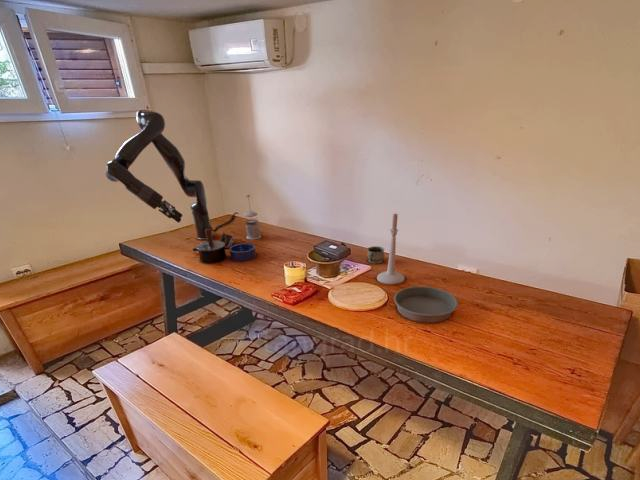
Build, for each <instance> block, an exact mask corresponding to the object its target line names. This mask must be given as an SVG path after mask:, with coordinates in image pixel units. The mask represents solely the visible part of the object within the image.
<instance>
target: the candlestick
mask: <svg viewBox="0 0 640 480" xmlns="http://www.w3.org/2000/svg"><path fill="white" fill-rule="evenodd" d="M398 214H399V213H393V214H392V224H391V225H392V226H391V229H389V231H390V235H391V237H390V246H389V255H388V262H387V268H386V269H387V270H386V271H382V272H380V273H379V274H377V276H376V280H377V281H378V282H379V283H381V284H384V285H399V284H402V283H404V282H405V276H404V275H403V274H402V273H401V272H398V271H396V245H397V244H396V243H397V242H396V241H397V238H396V237H397V234H398V231H399V229H397V227H398Z"/></svg>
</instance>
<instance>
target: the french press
mask: <svg viewBox="0 0 640 480" xmlns="http://www.w3.org/2000/svg"><path fill="white" fill-rule="evenodd" d="M250 197H251V195H250V194H246V198H247V201H250V199H249V198H250ZM248 207H249V208H251V205H250V203H248ZM243 216H244V217H246V218H250V219H248V220H246V221H245V228H246V234H247V235H246V236H245V238H246V239H247V240H259V239H261V238H262V234H261V233H260V221H259V220H258V217H256V216H258V213H257V212H256V211H251V210H249V211H247V212H245V213H243ZM253 217H255V218H253Z"/></svg>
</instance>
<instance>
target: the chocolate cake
mask: <svg viewBox="0 0 640 480" xmlns="http://www.w3.org/2000/svg"><path fill="white" fill-rule="evenodd" d="M219 241H221V242H224V243H225V246H230V247H231V246H233V244H234V243H235V239H234V236H233V235H230V234H228V233H227V234H226V233H225V230H223V231H222V234H221V236H220V239H219Z"/></svg>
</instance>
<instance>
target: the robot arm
mask: <svg viewBox="0 0 640 480" xmlns="http://www.w3.org/2000/svg"><path fill="white" fill-rule="evenodd" d="M136 122H137V124H138V126H139V128H140V130H141V131H140V132H139V133H137V134H136V135H134V136H132V137H130V138H129V139H128V140H126V141H125V142H124V143H123V144H122V145H121V147H119V149H118V151H117V152H116V154H115V156H114V158H113V159H112V160H111V161H108V162H107V164H106V166H105V169H104V174H105V176H106V178H107V180H109V181H110V182H113V183H119V182H120V183H121V184H122V185H123V186H124V187H125V189H126V190H127V191H128V192H129V193H131V194H132V195H134V196H135V197H136V198H138V199H139V200H140V201H141V202H143V203H144V204H146V205H147V206H149V207H150V208H151V209H153V210H156V209H157V208H158V211H159V212H160V213H161V214H163V215H164V216H165V217H167V218H168V219H173V220H174V221H175V222H177V223H180V222H181V221H182V217H183V214H182V213H181V212H180V211H178V210H177V209H176V207H175V206H174V205H172V204H171V203H170V202H168V201H167V200H166V199H164V196H163V195H162V194H160V193H159V192H158V191H156V190H155V189H153V188H152V187H151V186H149V185H147V184H146V183H145V182H143V181H142V180H140V179H138V178H137V177H136V176H135V175H134V174H133V173H132V172H131V171H130V170H129V168H130V167H131V166H133V164H134V163H135V161H136V160H137V158H138V157H139V156H140V155H141V153H142V152H143V151H144V150H145V149H146V148H147V147H148V146H149V145H150V144H151V143H152V145H153V147H154V148H155V149H156V150H157V152H158V153H159V155H160V156H161V158H162V159H163V161H164V163H165V164H166V165H167V167H168V168H169V169H170V171H171V172H172V174H173V176H174V177H175V179H176V180H177V182H178V184H179V186H180V188H181V190H182V191H183V193H184V195H186V197H187V198H195V199H196V201H195V202H193V203H190V210H191V215H192V219H193V224H194V229H195V231H196V232H195V233H196V238H197V239H198V240H200V241H204V240H205V241H207V238H206V233H205V229H210V232H211V236H212V238H214V235H213V232H216V231H217V229H218V228H219V227H222V226H225V225H227V224H228V223H231V221H232V220H233V218H234V217H235V215H236V214H237V215H238V214H239V213H238V212H234V213H233V214H232V215H231V218H230V219H229V220H228V221H226V222H224V223H222V224H219V225H217V226H216V227H214V229H213V226H212V224H211V220H210V215H209V210H208V201H207V196H206V194H207V193H206V188H205V185H204V183H203V181H201V180H197V179H189V178H188V176H187V175H186V173H185V171H186V161H185V158H184V157H183V155H182V153H181V152H180V150H179V149H178V148H177V146H176V145H175V144H173V142H172V141H170V140H169V139H168V138H167V137H166V136H165V135H164V134H163V132H164V130H165V128H166V120H165V118H164V116H163V115H162V114H161V113H160V112H157V111H154V110H149V109H140V110H138V111H137V112H136ZM163 199H164V200H163Z"/></svg>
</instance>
